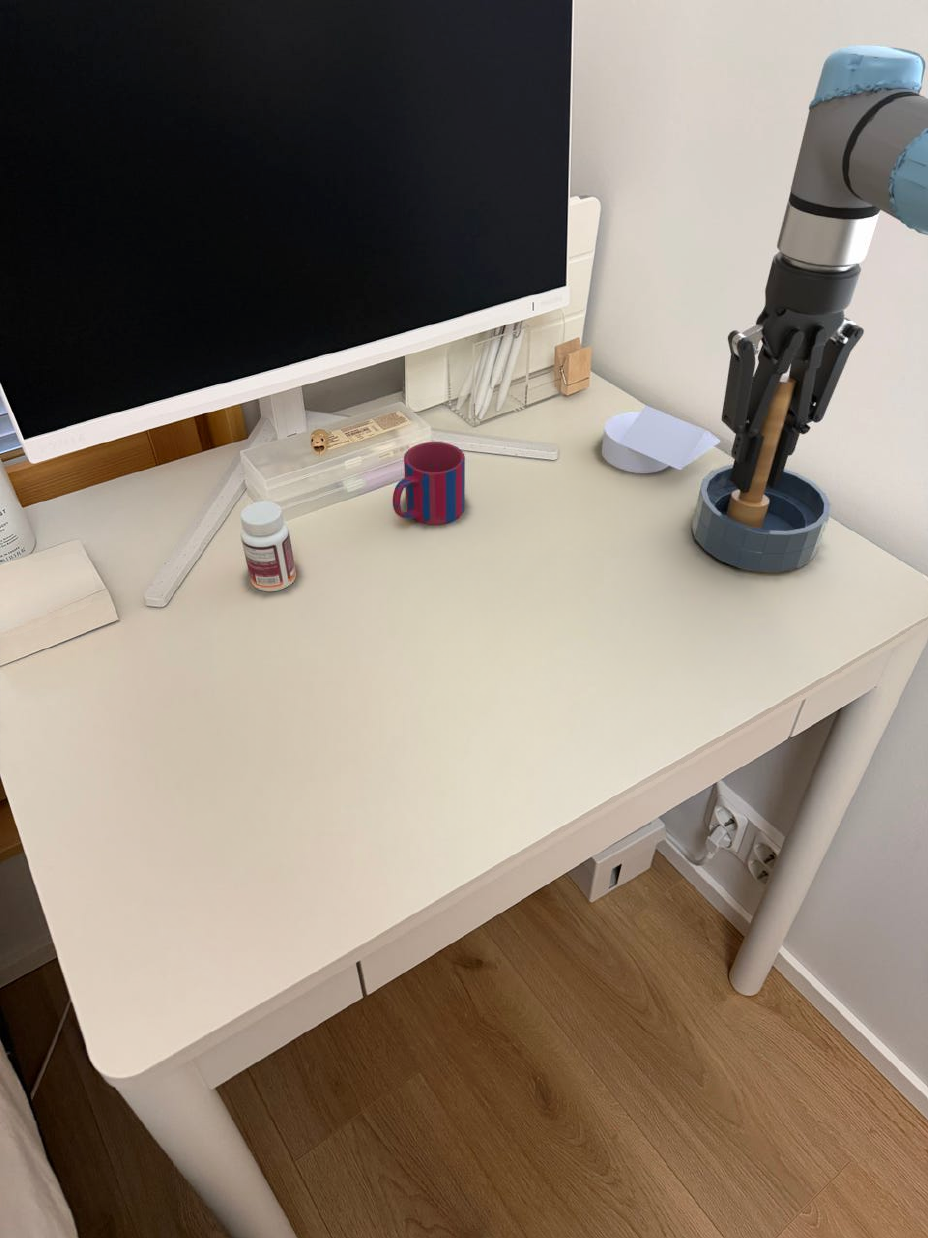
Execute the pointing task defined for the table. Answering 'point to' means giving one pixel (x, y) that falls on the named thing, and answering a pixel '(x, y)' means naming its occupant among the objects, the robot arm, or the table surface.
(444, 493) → the mug
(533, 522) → the table surface
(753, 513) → the muddler
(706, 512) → the bowl
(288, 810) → the table surface
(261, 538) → the pill bottle
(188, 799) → the table surface
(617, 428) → the wedge on round base
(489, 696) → the table surface
